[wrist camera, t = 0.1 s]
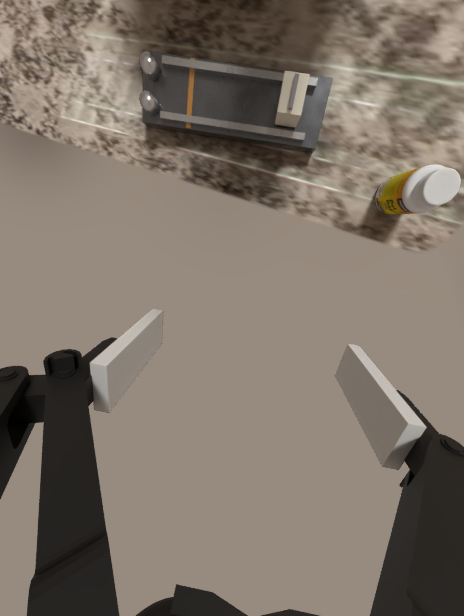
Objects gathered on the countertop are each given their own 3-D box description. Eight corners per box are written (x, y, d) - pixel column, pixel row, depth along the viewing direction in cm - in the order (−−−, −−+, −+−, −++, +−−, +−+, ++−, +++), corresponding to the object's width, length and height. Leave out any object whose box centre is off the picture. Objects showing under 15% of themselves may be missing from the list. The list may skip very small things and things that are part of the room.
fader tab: (281, 88, 31) (285, 67, 26) (303, 92, 31) (311, 71, 26) (274, 124, 32) (277, 109, 28) (295, 127, 32) (301, 113, 28)
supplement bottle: (366, 204, 37) (405, 198, 27) (390, 168, 35) (441, 149, 25) (394, 221, 37) (442, 221, 28) (419, 186, 35) (481, 174, 26)
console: (149, 59, 33) (135, 39, 29) (328, 86, 32) (338, 68, 28) (148, 127, 36) (135, 115, 32) (312, 152, 35) (319, 144, 31)
